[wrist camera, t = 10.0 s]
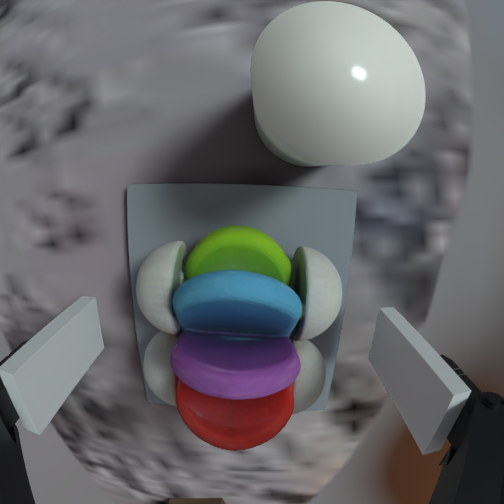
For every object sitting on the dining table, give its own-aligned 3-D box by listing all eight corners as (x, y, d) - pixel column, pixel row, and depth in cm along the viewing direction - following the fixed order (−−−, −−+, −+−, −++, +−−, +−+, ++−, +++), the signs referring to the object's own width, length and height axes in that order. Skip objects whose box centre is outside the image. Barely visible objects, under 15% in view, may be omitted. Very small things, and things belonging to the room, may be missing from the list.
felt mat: (131, 184, 14) (127, 184, 14) (353, 190, 15) (356, 191, 14) (150, 396, 18) (148, 402, 17) (323, 403, 18) (325, 409, 17)
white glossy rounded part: (247, 74, 13) (238, 5, 6) (347, 67, 13) (404, 8, 6) (261, 172, 14) (264, 174, 8) (362, 162, 14) (436, 161, 7)
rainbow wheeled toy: (161, 381, 17) (125, 475, 9) (155, 213, 14) (77, 247, 7) (306, 391, 17) (329, 490, 10) (334, 226, 14) (403, 270, 7)
